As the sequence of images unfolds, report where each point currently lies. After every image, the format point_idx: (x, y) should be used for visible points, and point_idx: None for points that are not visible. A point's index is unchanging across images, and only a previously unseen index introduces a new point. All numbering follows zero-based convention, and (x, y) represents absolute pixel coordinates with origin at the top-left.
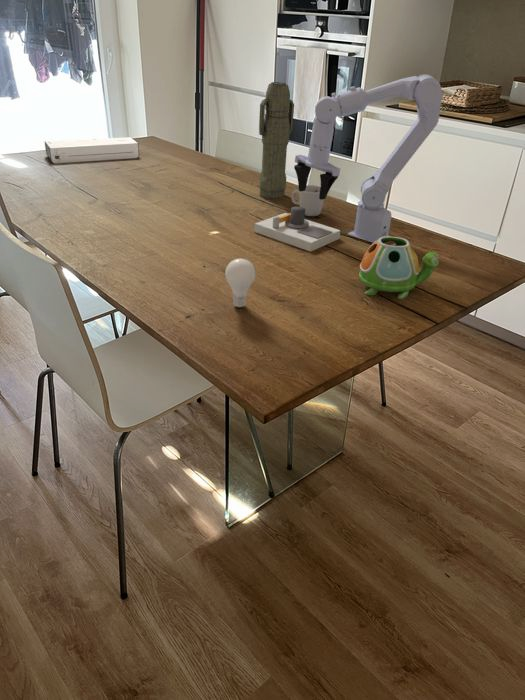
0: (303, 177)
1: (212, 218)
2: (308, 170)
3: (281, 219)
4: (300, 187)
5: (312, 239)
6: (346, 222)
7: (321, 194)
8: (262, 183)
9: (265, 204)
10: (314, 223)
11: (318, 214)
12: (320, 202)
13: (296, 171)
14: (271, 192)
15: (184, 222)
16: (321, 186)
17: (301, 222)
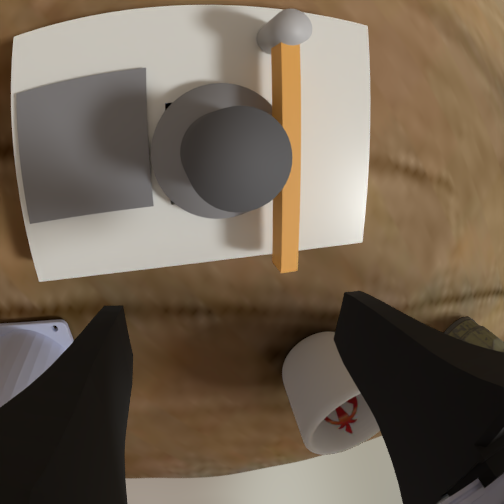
0: (406, 385)
1: (482, 71)
2: (411, 468)
3: (278, 65)
4: (363, 305)
5: (30, 68)
6: (174, 400)
7: (87, 328)
8: (491, 335)
9: (447, 290)
10: (176, 249)
11: (282, 369)
12: (293, 402)
13: (502, 356)
14: (459, 339)
15: (488, 7)
16: (72, 381)
17: (181, 143)
